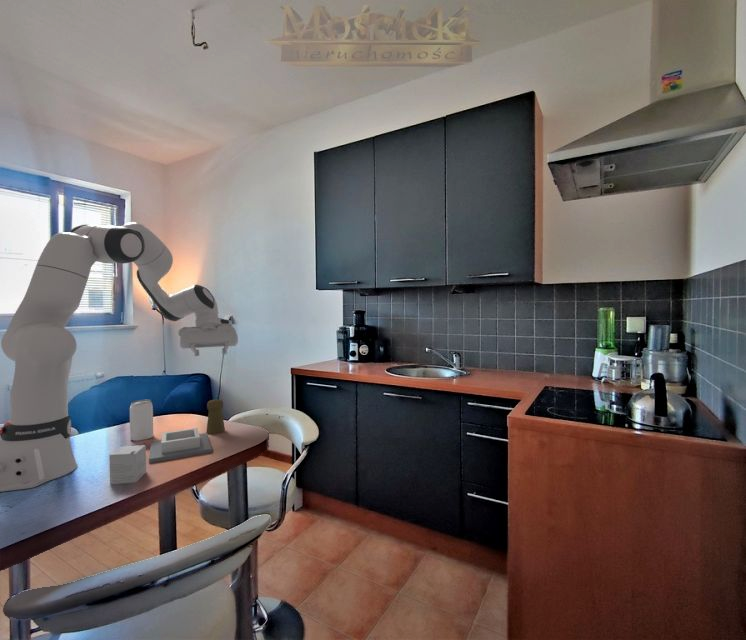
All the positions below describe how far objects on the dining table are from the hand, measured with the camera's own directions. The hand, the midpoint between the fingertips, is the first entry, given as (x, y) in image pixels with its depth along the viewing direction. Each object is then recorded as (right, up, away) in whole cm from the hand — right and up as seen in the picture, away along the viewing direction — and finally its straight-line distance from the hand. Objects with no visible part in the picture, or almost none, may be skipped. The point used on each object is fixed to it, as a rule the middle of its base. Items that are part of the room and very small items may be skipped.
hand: (211, 354), depth 141 cm
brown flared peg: (+6, -26, -10) cm, 28 cm away
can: (-16, -26, -16) cm, 35 cm away
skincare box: (-1, -27, -46) cm, 53 cm away
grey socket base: (+2, -26, -26) cm, 37 cm away
